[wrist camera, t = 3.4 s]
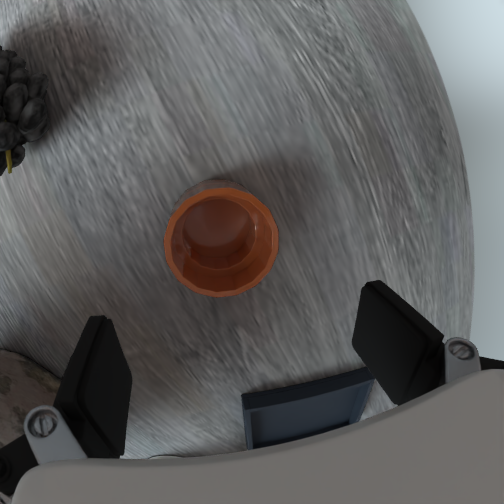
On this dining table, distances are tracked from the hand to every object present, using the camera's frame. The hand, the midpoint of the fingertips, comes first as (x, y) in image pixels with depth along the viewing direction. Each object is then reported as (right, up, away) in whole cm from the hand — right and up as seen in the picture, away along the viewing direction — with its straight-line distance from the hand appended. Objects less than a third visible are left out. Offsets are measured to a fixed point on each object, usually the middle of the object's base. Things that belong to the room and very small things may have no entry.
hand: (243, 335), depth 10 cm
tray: (+7, -18, +24) cm, 31 cm away
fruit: (-20, +16, +5) cm, 26 cm away
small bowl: (-2, +5, +13) cm, 14 cm away
